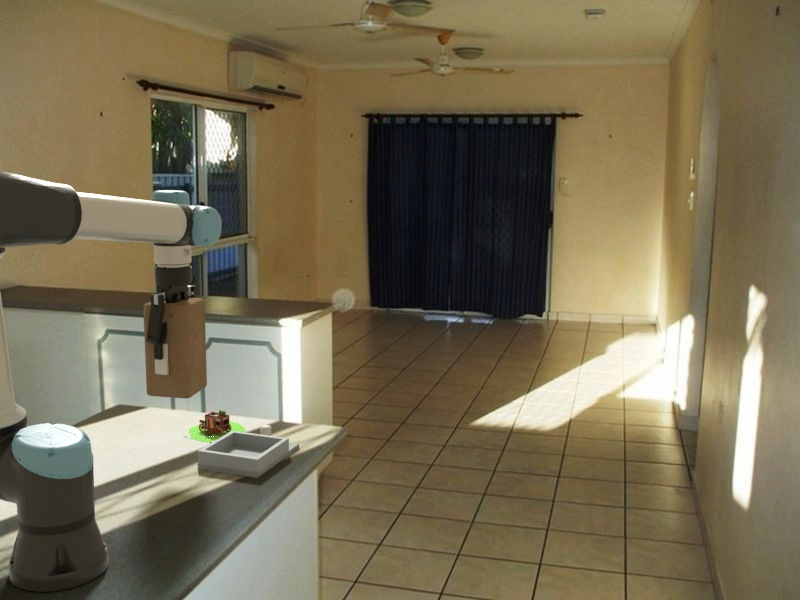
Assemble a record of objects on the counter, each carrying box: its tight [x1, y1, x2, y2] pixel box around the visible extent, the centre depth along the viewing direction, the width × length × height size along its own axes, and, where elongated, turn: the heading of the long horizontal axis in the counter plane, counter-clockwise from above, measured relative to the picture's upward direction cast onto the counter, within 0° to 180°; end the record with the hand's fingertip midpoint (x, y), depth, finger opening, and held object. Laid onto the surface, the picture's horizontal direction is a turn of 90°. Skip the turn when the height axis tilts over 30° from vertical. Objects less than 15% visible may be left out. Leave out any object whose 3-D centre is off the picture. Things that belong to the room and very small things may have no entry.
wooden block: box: [143, 297, 208, 400], centre depth 183 cm, size 10×10×20 cm
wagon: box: [184, 409, 246, 443], centre depth 210 cm, size 15×15×6 cm
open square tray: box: [197, 424, 300, 479], centre depth 193 cm, size 20×14×5 cm
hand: (176, 367), depth 184 cm, fingers closed on wooden block, 10 cm apart
